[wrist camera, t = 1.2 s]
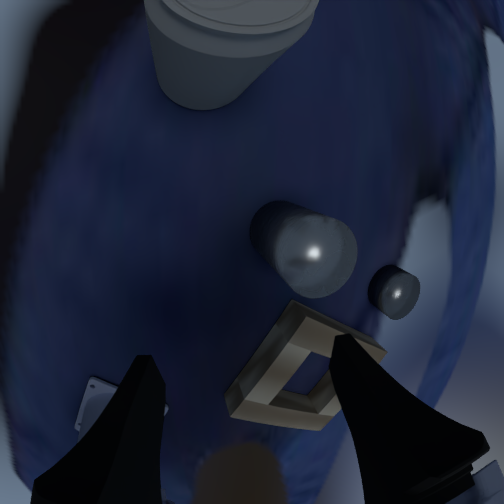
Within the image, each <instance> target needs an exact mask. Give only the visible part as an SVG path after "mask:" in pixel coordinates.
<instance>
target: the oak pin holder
mask: <svg viewBox="0 0 504 504" xmlns="http://www.w3.org/2000/svg"><path fill="white" fill-rule="evenodd" d="M347 333H350V334H351V335H352V336H353V337H354V338H355V339H356V340H357V342H358V343H359V344H360V345H361V346H362V347H363V348H364V349H365V350H366V351H367V352H368V353H369V355H370V356H371V357H372V358H373V359H374V360H375V361H376V362H377V363H378V364H379V363H380V362H381V360H382V359H383V357H384V356H385V355H386V354H387V351H386V350H385V349H384V348H383V347H381V346H380V345H379V344H378V343H377V342H376V341H375V340H374V339H373V338H372V337H370V336H368V335H366V334H363V333H361V332H359V331H357V330H355V329H353V328H351V327H349V326H346V325H344V324H342V323H340V322H338V321H336V320H334V319H332V318H330V317H328V316H325V315H323V314H321V313H319V312H317V311H315V310H313V309H311V308H309V307H307V306H305V305H303V304H301V303H299V302H297V301H295V300H293V299H292V300H291V301H290V303H289V304H288V306H287V307H286V309H285V310H284V311H283V313H282V314H281V316H280V317H279V319H278V320H277V322H276V323H275V325H274V326H273V328H272V329H271V330H270V332H269V333H268V335H267V336H266V338H265V339H264V340H263V342H262V343H261V345H260V346H259V348H258V349H257V350H256V352H255V353H254V355H253V356H252V357H251V359H250V360H249V361H248V363H247V364H246V366H245V367H244V368H243V370H242V371H241V372H240V374H239V375H238V376H237V378H236V379H235V381H234V382H233V383H232V385H231V386H230V387H229V388H228V390H227V391H226V392H225V394H224V397H225V401H226V404H227V408H228V412H229V415H230V417H233V418H238V419H243V420H248V421H253V422H258V423H264V424H270V425H276V426H283V427H290V428H298V429H307V430H317V431H320V430H321V429H322V428H323V427H324V426H325V425H326V424H327V423H328V422H329V421H330V420H331V419H332V418H333V417H334V416H335V415H336V414H337V413H338V411H339V410H340V409H341V405H340V403H339V400H338V397H337V395H336V392H335V390H334V386H333V382H332V378H331V374H330V370H328V371H327V372H326V374H325V375H324V376H323V377H322V379H321V380H320V381H319V382H318V383H317V385H316V386H315V387H314V388H313V389H312V391H311V392H310V393H309V394H308V395H302V394H298V393H293V392H289V391H285V390H281V389H282V388H283V386H284V385H285V384H286V383H287V381H288V380H289V379H290V378H291V376H292V375H293V374H294V373H295V371H296V370H297V369H298V368H299V366H300V365H301V364H302V362H303V361H304V360H305V359H306V357H307V356H308V355H309V353H310V352H311V351H312V352H315V353H318V354H321V355H324V356H327V357H329V358H331V354H332V349H333V344H334V339H335V336H336V335H342V334H347Z"/></svg>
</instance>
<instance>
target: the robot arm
mask: <svg viewBox="0 0 504 504" xmlns="http://www.w3.org/2000/svg"><path fill="white" fill-rule="evenodd" d="M329 370H330V374H331V378H332V382H333V386H334V390H335V392H336V395H337V397H338V400H339V403H340V405H341V408H342V410H343V413H344V416H345V418H346V421H347V423H348V426H349V429H350V431H351V435H352V438H353V441H354V445H355V449H356V454H357V458H358V463H359V468H360V473H361V478H362V485H363V491H364V500H365V504H504V477H503V474H502V472H501V469H500V467H499V465H498V462H497V460H494V461H492V462H491V463H489V464H488V465H486V466H485V467H484V468H482V469H481V470H479V471H478V472H476V473H475V474H473V475H471V473H470V472H471V471H472V470H473V467H472V463H473V462H474V461H476V460H477V459H479V458H480V457H481V456H482V455H484V454H485V453H487V452H488V451H489V449H490V447H489V445H488V443H487V440H486V438H485V436H484V435H483V433H482V432H480V431H478V430H475V429H472V428H470V427H467V426H465V425H462V424H460V423H458V422H456V421H454V420H452V419H450V418H448V417H446V416H445V415H443V414H441V413H439V412H438V411H436V410H434V409H433V408H431V407H430V406H428V405H427V404H425V403H424V402H422V401H421V400H419V399H418V398H417V397H415V396H414V395H413V394H411V393H410V392H409V391H408V390H406V389H405V388H404V387H403V386H402V385H400V384H399V383H398V382H397V381H396V380H395V379H394V378H393V377H392V376H390V375H389V374H388V373H387V372H386V371H385V370H384V369H383V368H382V367H381V366H380V365H379V364H378V363H377V362H376V361H375V360H374V359H373V358H372V357H371V356H370V355H369V353H368V352H367V351H366V350H365V349H364V348H363V347H362V346H361V345H360V344H359V343H358V342H357V340H356V339H355V338H354V337H353V336H352V335H351V334H350V333H347V334H342V335H336V336H335V339H334V344H333V349H332V354H331V358H330V363H329ZM93 385H94V386H93ZM167 411H168V405H167V404H165V382H164V380H163V378H162V376H161V374H160V372H159V370H158V368H157V366H156V364H155V362H154V360H153V358H152V355H137V356H136V358H135V359H134V361H133V363H132V364H131V366H130V368H129V370H128V371H127V373H126V375H125V377H124V378H123V380H122V382H121V383H120V385H119V387H117V386H115V385H112V384H110V383H107V382H105V381H103V380H100V379H98V378H96V377H90V379H89V382H88V384H87V387H86V390H85V394H84V397H83V400H82V403H81V406H80V409H79V413H78V416H77V420H76V423H75V429H76V430H78V431H79V436H78V441H77V444H76V445H75V446H74V447H73V448H72V449H71V450H70V451H69V452H68V453H67V454H66V455H65V456H64V457H63V458H62V459H61V460H60V461H58V462H57V463H56V464H55V465H54V466H53V467H51V468H50V469H49V470H47V471H46V472H45V473H43V474H42V475H41V476H39V477H38V478H36V479H35V480H34V484H33V490H32V496H31V502H30V504H175V503H174V502H173V501H171V500H167V499H166V494H165V489H162V488H161V484H160V447H161V438H162V430H163V421H164V416H165V414H166V413H167Z"/></svg>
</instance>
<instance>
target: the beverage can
mask: <svg viewBox="0 0 504 504" xmlns="http://www.w3.org/2000/svg"><path fill="white" fill-rule="evenodd" d="M318 2H319V0H144V5H145V11H146V18H147V24H148V30H149V36H150V42H151V48H152V53H153V59H154V64H155V69H156V74H157V79H158V82H159V85H160V87H161V89H162V90H163V92H164V93H165V94H166V95H167V96H168V97H169V98H170V99H171V100H172V101H174V102H175V103H177V104H179V105H181V106H183V107H186V108H190V109H194V110H211V109H216V108H220V107H222V106H225V105H227V104H229V103H230V102H232V101H234V100H235V99H236V98H237V97H238V96H240V95H241V93H242V92H243V91H244V90H245V89H246V88H247V87H248V86H249V85H250V84H251V83H252V82H253V81H254V80H255V79H256V78H257V77H258V76H260V75H261V74H262V73H263V72H264V71H265V70H266V69H267V68H268V67H269V66H270V65H271V64H272V63H273V62H274V61H275V60H276V59H278V58H279V57H280V56H281V55H282V54H283V53H284V52H285V51H286V50H287V49H289V48H290V47H291V46H292V45H293V44H294V43H295V42H297V41H298V40H299V39H300V38H301V37H302V36H303V35H304V34H305V33H306V31H307V30H308V28H309V27H310V25H311V23H312V20H313V17H314V11H315V9H316V7H317V5H318Z"/></svg>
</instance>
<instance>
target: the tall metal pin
mask: <svg viewBox="0 0 504 504" xmlns="http://www.w3.org/2000/svg"><path fill="white" fill-rule="evenodd" d="M250 239H251V242H252V244H253V246H254V248H255V249H256V250H257V251H258V253H259V254H260V255H261V256H262V257H263V258H264V259H265V260H266V261H267V262H268V263H269V264H270V265H271V267H272V268H273V269H274V270H275V271H276V272H277V273H278V274H279V275H280V276H281V277H282V278H283V279H284V281H285V282H286V283H287V284H288V285H289V286H290V287H291V288H292V289H293V290H294V291H295V292H296V293H298V294H299V295H301V296H304V297H308V298H321V297H325V296H328V295H330V294H332V293H334V292H335V291H337V290H338V289H339V288H341V287H342V286H343V285H344V284H345V283H346V281H347V280H348V279H349V277H350V276H351V274H352V272H353V270H354V267H355V264H356V260H357V243H356V239H355V237H354V234H353V233H352V231H351V230H350V229H349V227H348V226H347V225H345V224H344V223H343V222H341V221H339V220H336V219H334V218H331V217H329V216H326V215H323V214H321V213H318V212H315V211H313V210H310V209H307V208H304V207H302V206H299V205H296V204H293V203H290V202H287V201H281V200H280V201H273V202H270V203H268V204H266V205H264V206H263V207H261V208H260V209H259V210H258V211H257V213H256V214H255V215H254V217H253V219H252V222H251V225H250Z"/></svg>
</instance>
